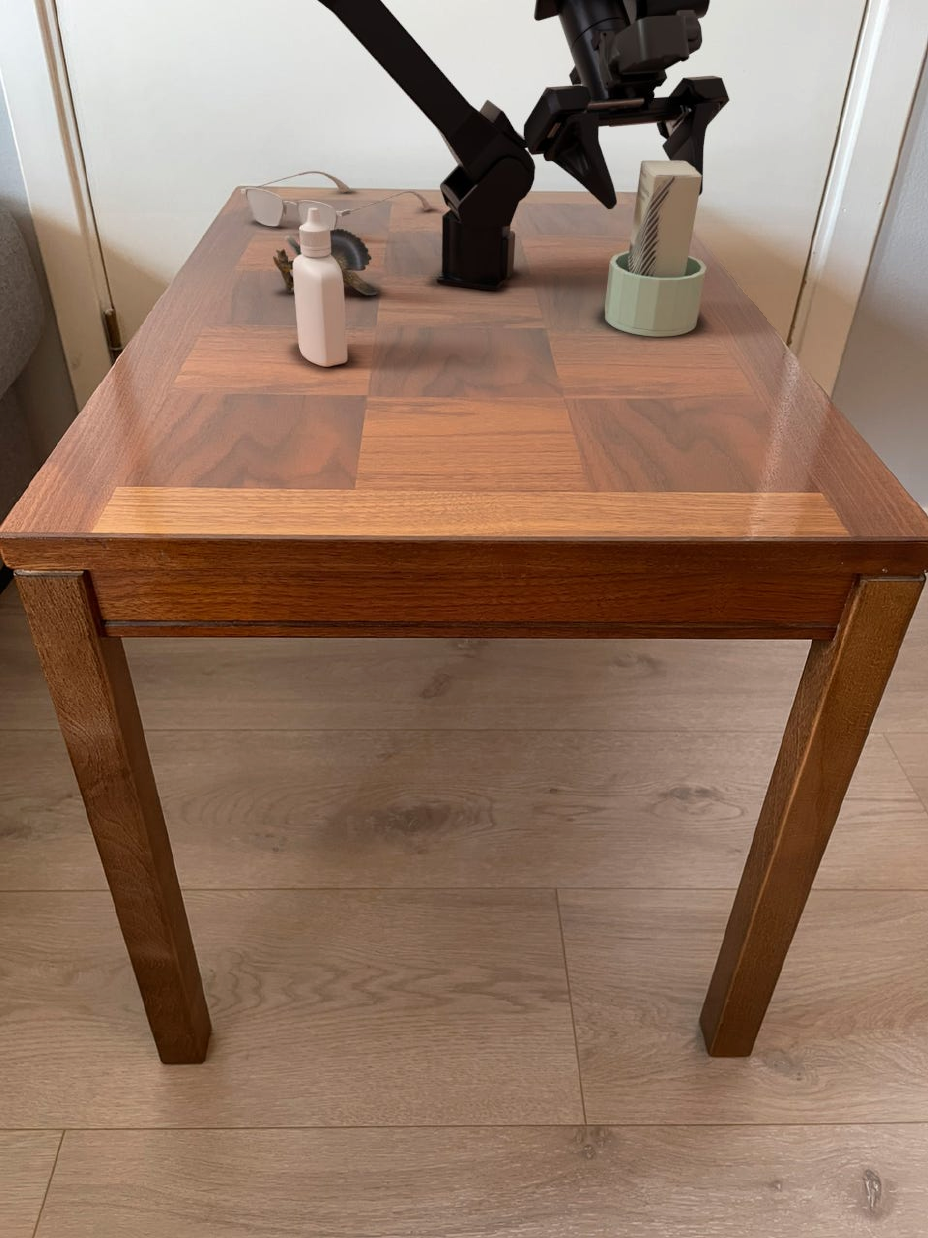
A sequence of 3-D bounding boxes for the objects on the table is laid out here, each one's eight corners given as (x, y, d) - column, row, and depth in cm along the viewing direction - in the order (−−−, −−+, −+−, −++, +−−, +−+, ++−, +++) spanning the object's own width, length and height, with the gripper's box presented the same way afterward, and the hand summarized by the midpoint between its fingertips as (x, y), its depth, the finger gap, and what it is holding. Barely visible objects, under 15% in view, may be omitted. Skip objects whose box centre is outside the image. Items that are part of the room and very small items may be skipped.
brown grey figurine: (281, 301, 91) (376, 281, 90) (264, 223, 90) (359, 203, 90) (294, 319, 98) (382, 300, 98) (278, 247, 98) (366, 229, 97)
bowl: (596, 329, 90) (602, 272, 87) (614, 299, 96) (620, 244, 93) (689, 342, 88) (699, 284, 85) (702, 310, 94) (711, 255, 91)
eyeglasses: (242, 220, 115) (238, 184, 113) (342, 189, 127) (340, 156, 125) (342, 245, 108) (340, 207, 106) (437, 210, 120) (437, 175, 118)
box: (620, 303, 94) (638, 158, 86) (665, 302, 94) (686, 158, 86) (633, 323, 89) (653, 173, 82) (680, 322, 90) (704, 173, 82)
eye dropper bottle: (350, 343, 86) (343, 199, 79) (347, 368, 81) (338, 219, 74) (300, 342, 86) (288, 198, 78) (294, 368, 81) (281, 218, 74)
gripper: (548, -27, 77) (610, 154, 76) (736, -31, 84) (795, 135, 83) (498, 70, 87) (551, 231, 86) (668, 60, 94) (720, 209, 93)
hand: (656, 200), depth 87 cm, fingers open, 9 cm apart
